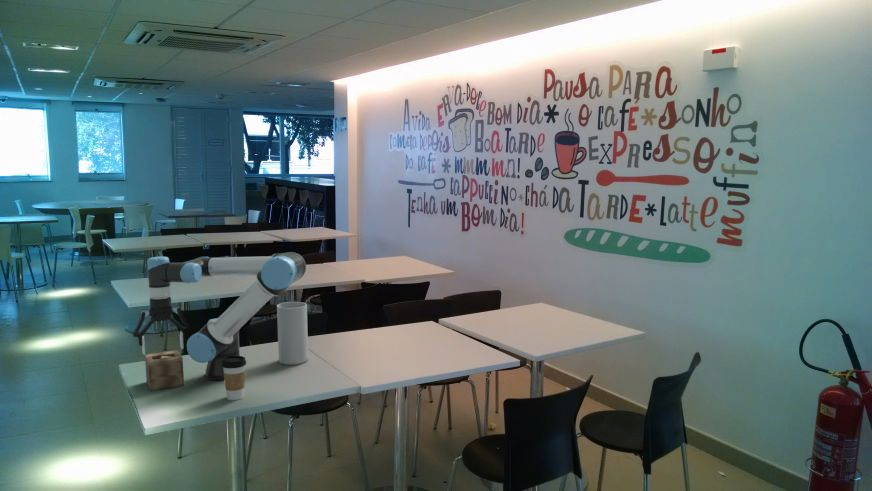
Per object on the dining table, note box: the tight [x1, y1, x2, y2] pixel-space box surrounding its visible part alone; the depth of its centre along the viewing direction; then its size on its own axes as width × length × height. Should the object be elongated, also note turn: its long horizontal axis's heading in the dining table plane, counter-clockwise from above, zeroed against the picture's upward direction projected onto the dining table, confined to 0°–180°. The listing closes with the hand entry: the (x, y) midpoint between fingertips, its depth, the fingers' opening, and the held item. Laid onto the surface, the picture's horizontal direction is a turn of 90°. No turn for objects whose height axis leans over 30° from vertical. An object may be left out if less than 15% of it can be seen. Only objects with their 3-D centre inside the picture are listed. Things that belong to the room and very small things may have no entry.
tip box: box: [144, 349, 185, 392], centre depth 235 cm, size 12×12×11 cm
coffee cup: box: [222, 355, 247, 401], centre depth 220 cm, size 8×8×15 cm
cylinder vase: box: [276, 301, 309, 366], centre depth 262 cm, size 12×12×25 cm
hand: (163, 350), depth 234 cm, fingers open, 13 cm apart
